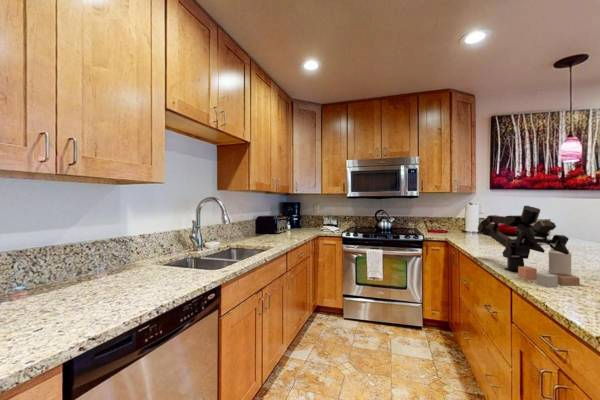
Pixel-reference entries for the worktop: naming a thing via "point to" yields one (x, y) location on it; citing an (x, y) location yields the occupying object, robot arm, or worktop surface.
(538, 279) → the slate cube
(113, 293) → the worktop surface
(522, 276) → the terracotta cube
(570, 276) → the walnut base
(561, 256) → the can
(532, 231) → the robot arm
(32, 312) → the worktop surface
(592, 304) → the worktop surface
